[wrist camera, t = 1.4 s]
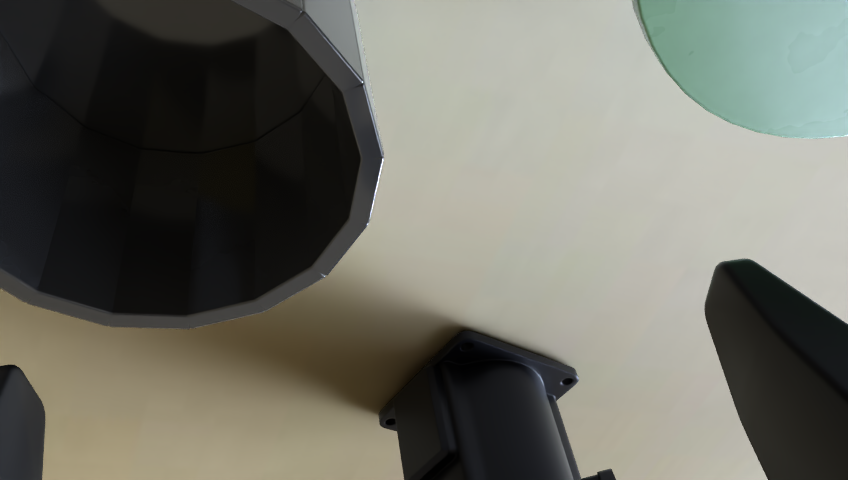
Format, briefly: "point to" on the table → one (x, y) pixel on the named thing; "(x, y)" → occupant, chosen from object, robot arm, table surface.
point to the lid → (757, 60)
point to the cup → (180, 154)
